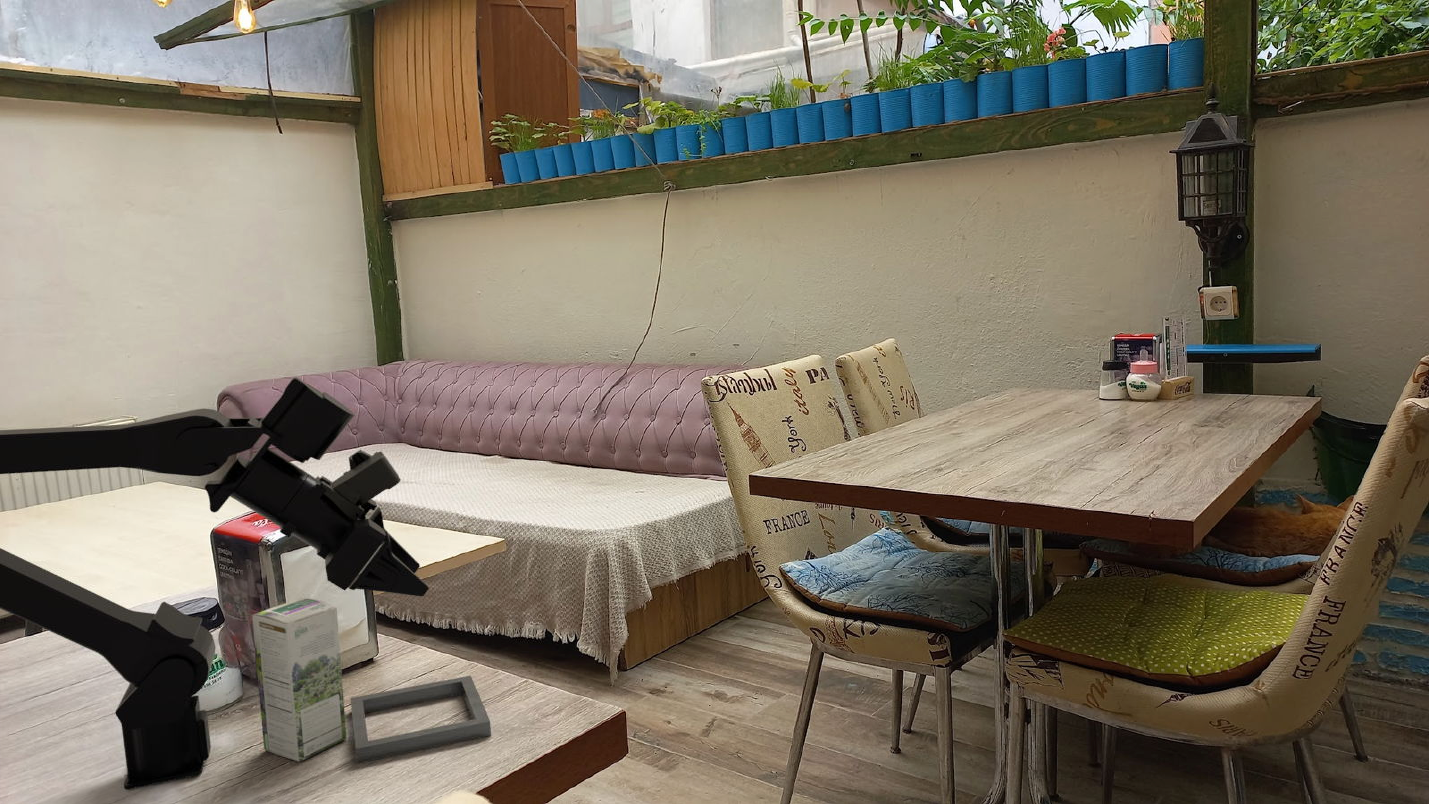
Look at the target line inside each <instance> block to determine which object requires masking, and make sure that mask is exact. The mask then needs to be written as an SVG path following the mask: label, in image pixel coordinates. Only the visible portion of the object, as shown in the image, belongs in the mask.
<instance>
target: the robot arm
mask: <svg viewBox="0 0 1429 804" xmlns="http://www.w3.org/2000/svg"><path fill="white" fill-rule="evenodd" d="M355 416H356V415H355V413H354V412H352V410H350V409H349V408H348V407H347V406H346V405H344V404H343V403H341V402H340V401H339V400H337V399H336V398H335V397H334V396H331V394H329V393H327V392H325V391H323V392H322V391H320V390H319V389H317V388H316V387H314V386H312V385H310V384H309V383H306V382H305V381H303V380H302V379H300V378H299V377H298V376H295V377H293V378H292V379H291V380H290V382H289V383H288V384H287V385H286V387H285V389H284V391H283V394H282V395H281V396H280V397H279V398H278V400H277V401H276V402H275V403H274V404H273V406H272V407H271V409H270V410H269V411H268V412H267V413H266V415H265V416H264V417H254V416H251V417H235V418H233V417H230V418H229V417H227V416H226V415H224V414H223V413H221V412H220V411H218V410H215V409H210V408H197V409H192V410H191V409H190V410H187V411H181V412H177V413H173V414H165V415H162V416H158V417H154V418H149V419H145V420H141V421H136V422H133V423H126V424H111V425H110V424H105V425H88V426H87V425H85V426H63V427H62V426H61V427H44V428H42V427H41V428H38V427H37V428H21V429H20V428H18V429H0V475H6V474H7V475H9V474H10V475H11V474H26V473H42V472H43V473H45V472H59V471H60V472H61V471H63V472H64V471H80V470H93V469H95V470H96V469H111V468H112V469H113V468H124V469H125V468H127V469H137V470H141V471H147V472H150V473H152V472H153V473H157V474H166V475H176V476H178V475H179V476H188V477H203V476H208V475H211V474H213V473H215V472H217V471H218V470H219V469H221V468H222V466H224V464H226V462H228V460H229V458H230V457H231V456H234V455H238V454H239V453H242V452H246V451H248V450H251V449H252V448H253V447H254V446H255V445H256V444H257V442H258V440H260V439H261V437H262V435H267V436H268V437H267V439H266V440H265V441H264V442H263V443H262V445H261V446H259V448H258V450H257V451H256V452H255V453H254V455H253V456H252V457H251V458H250V459H248V458H245V457H240V456H238V457H236V459H235V460H234V461H233V463H232V464H231V465H230V466H229V467H228V469H227V470H226V471H225V473H224V474H223V476H222V477H220V478H219V479H217V480H215V479H214V480H208V481H207V482H206V484H205V486H204V490H205V491H206V493H207V495H208V500H209V510H210V512H212V513H217V512H219V511H220V509H221V508H222V507H223V505H224V504H225V503H226V502H227V501H228V499H229V498H232V499H234V500H235V501H237V502H239V503H240V504H242V505H243V506H245V507H247V508H248V509H250V510H252V511H253V512H255V513H256V514H258V515H260V516H261V517H263V518H265V519H266V520H268V521H269V522H271V523H273V524H274V525H275V526H278V527H279V528H280V529H279V533H280V534H282V535H284V536H285V537H287V538H290V537H291V535H292V536H293V537H296V539H299V540H300V541H302V542H303V543H305V544H307V545H309V546H310V547H312V548H313V549H315V550H316V555H317V556H318V557H320V558H322V559H323V560H325V561H324V563H325V566H324V567H325V573H326V578H327V581H328V582H330V583H331V584H333V585H335V586H336V587H338V588H340V589H342V590H343V591H347V589H349V590H352V591H355V590H365V591H375V592H381V593H382V592H384V593H385V592H386V593H392V594H399V595H409V596H414V597H415V596H416V597H424V596H425V595H426V594H427V592H428V591H429V589H430V587H429V586H428V585H427V584H426V583H425V581H423V580H422V579H421V578H420V577H419V575H417V574H416V573H417V571H418V570H419V568H420V567H421V565H420V563H419V562H418V561H417V560H416V559H415V558H414V557H413V556H412V555H411V554H410V553H409V552H408V551H407V550H406V548H404V547H403V546H402V545H401V543H399V542H398V541H397V540H396V539H395V538H394V537H393V535H391V533H389V531H388V530H387V529H386V528H385V526H384V518H383V513H382V509H381V507H380V506H378V504H377V502H376V501H375V500H374V499H373V498H375V497H377V496H378V495H379V494H381V493H383V492H384V491H386V490H391V489H392V488H394V487H396V486H397V485H398V484H399V483H400V482H401V478H400V476H399V474H398V473H397V471H396V469H395V468H394V467H393V465H392V463H390V461H389V459H387V457H386V456H385V455H384V453H383V451H376V452H374V453H373V455H371V454H370V453H367V452H366V451H365V450H362V449H359V450H358V451H356V452H354V453H352V454H351V455H350V456H349V457H348V463H349V470H348V471H345V472H343V474H342V475H341V476H339V477H338V478H337V479H335V480H333V481H331V480H330V479H329V478H327V477H325V476H323V475H321V476H319V475H317V476H316V477H315V476H312V475H311V474H310V473H308V472H307V471H305V470H304V469H301V468H300V467H298V466H297V465H296V464H294V463H293V462H291V461H289V460H288V459H286V458H284V457H283V456H281V455H280V454H278V453H277V452H275V451H274V450H272V449H271V448H270V447H271V446H273V447H275V448H276V449H278V450H279V451H280V452H282V453H283V454H284V455H286V456H287V457H289V458H291V459H293V460H295V461H297V462H299V463H301V464H304V463H305V462H308V461H309V460H310V459H311V458H312V459H314V460H317V461H320V460H321V459H322V458H323V456H324V455H325V454H326V453H327V452H328V450H329V449H330V447H331V446H332V445H333V444H334V442H336V440H337V439H338V437H339V436H340V435H341V434H342V432H344V430H345V429H346V428H347V426H348V425H349V423H350V422H351V421H353V418H354V417H355ZM370 511H374V512H373V513H371V516H369V515H367V514H368V513H369V512H370ZM0 609H1V610H2V611H5V612H6V613H9V614H11V615H14V616H16V617H18V618H20V619H23V621H26V622H29V623H31V624H34V625H35V626H38V627H40V628H42V629H43V630H47V631H49V632H51V633H53V634H55V635H57V636H60V637H62V638H63V639H66V640H68V641H70V642H73V643H75V644H77V645H79V646H82V647H83V648H85V649H88V650H90V651H93V652H94V653H96V654H99V655H100V656H102V657H103V658H104V659H105V660H106V661H107V662H108V663H109V664H110V665H111V667H112V668H113V669H114V670H115V671H116V672H117V673H118V674H119V676H121V677H122V678H123V679H124V680H125V681H126V682H128V683H129V685H128V687H127V688H126V690H125V692H124V694H123V696H122V698H121V700H120V701H119V704H118V706H117V708H116V710H115V713H114V714H115V716H116V717H117V720H118V721H119V722H120V724H121V731H122V733H121V734H122V739H123V740H122V741H123V750H124V755H125V763H126V764H125V767H126V773H127V775H126V777H125V780H124V782H123V788H124V789H125V790H133V789H137V788H141V787H146V786H151V785H158V784H162V783H166V782H167V783H168V782H171V781H177V780H180V779H186V778H190V777H191V778H192V777H196V776H200V775H201V774H202V773H203V771H204V766H205V762H206V761H207V760H208V759H209V757H210V753H211V749H212V748H211V746H212V745H211V737H210V728H209V717H208V711H207V710H205V709H202V710H201V706H200V705H201V704H200V696H199V695H196V694H198V692H199V691H201V690H202V688H203V687H204V685H205V684H206V682H207V679H208V678H209V674H210V671H211V668H212V665H213V662H214V660H215V659H214V658H215V656H216V643H215V639H214V637H213V634H212V633H211V632H210V630H209V629H207V628H205V627H204V626H203V625H201V624H202V621H203V617H197V616H191V615H187V614H185V613H184V612H181V611H180V610H178V609H177V608H176V607H174V606H173V605H172V604H170V603H167V602H166V601H163V602H161V603H160V605H159V607H158V608H157V611H156V613H152V612H144V611H136V610H132V609H128V608H127V607H125V606H122V605H120V604H118V603H116V602H114V601H111V600H110V599H107V598H105V597H104V596H102V595H100V594H97V593H95V592H93V591H91V590H88V589H87V588H85V587H82V586H80V585H78V584H76V583H74V582H72V581H70V580H68V579H66V578H63V577H62V576H59V575H57V574H56V573H53V572H51V571H50V570H47V569H45V568H43V567H41V566H39V565H36V564H35V563H32V562H30V561H27V560H26V559H25V558H24V559H23V558H22V557H20V556H18V555H16V554H13V553H12V552H9V551H7V550H5V549H4V548H1V547H0Z"/></svg>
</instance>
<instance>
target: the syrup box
mask: <svg viewBox="0 0 1429 804" xmlns="http://www.w3.org/2000/svg"><path fill="white" fill-rule="evenodd" d="M337 608H338V607H335V605H332V604H330V603H328V602H325V601H323V600H319V599H315V598H309V597H307V598H306V597H300V598H298V599H295V600H292V601H289V602H286V603H282V604H279V605H277V606H274V607H270V608H267V609H266V610H265V609H264V610H262V611H260V612H257V613H254V614H252V616H251V617H252V629H253V640H254V649H255V650H254V651H255V663H256V671H257V672H256V673H257V684H258V695H259V705H260V707H259V708H260V717H261V728H262V730H261V731H262V741H263V743H262V744H263V749H264V750H265V751H266V752H270V753H272V754H274V755H277V756H280V757H284V758H285V759H289V760H292V761H295V762H298V763H300V762H303V761H304V760H307V759H308V758H311V757H312V756H314V755H317V754H318V753H321V752H322V751H325V750H326V749H329V748H331V747H333V746H334V745H336V744H339V743H340V742H342V741H344V740H346V739H347V727H346V725H347V724H346V712H345V700H344V698H345V697H344V689H343V675H342V660H341V647H340V631H339V621H338V620H339V619H338V609H337Z"/></svg>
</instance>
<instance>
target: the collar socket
mask: <svg viewBox="0 0 1429 804" xmlns="http://www.w3.org/2000/svg"><path fill="white" fill-rule="evenodd" d="M460 695H462V697H463V699H464V701H465V704H466V707H467V710H468V712H469V715H470V717H471V719H469V720H465V721H460V722H457V723H455V722H454V723H451V724H446V725H441V726H435V727H431V728H426V729H421V730H416V731H411V732H406V733H401V734H396V735H390V736H386V737H382V738H381V737H380V738H377V739H372V740H369V739H368V738H369V737H368V731H367V721H366V715H365V714H366V713H372V712H376V711H377V712H378V711H383V710H388V709H392V708H393V709H394V708H397V707H402V706H407V705H414V704H417V703H424V702H429V701H430V702H431V701H433V700H439V699H444V698H449V697H455V696H460ZM350 707H351V718H352V719H351V720H352V727H353V728H352V730H353V735H354V736H353V738H354V739H353V740H354V747H355V758H356V764H362V763H365V762H371V761H375V760H380V759H385V758H390V757H394V756H399V755H404V754H405V755H406V754H409V753H413V752H419V751H422V750H428V749H433V748H438V747H441V746H446V745H451V744H452V745H453V744H456V743H462V742H465V741H470V740H475V739H480V738H485V737H490V736H492V729H491V726H492V725H491V721H490V717H489V715H488V713H487V711H486V708H485V705H484V704H483V701H482V699H481V697H480V694H479V692H478V689H477V687H476V685H475V682H474V680H473V677H472V675H466V676H462V677H456V678H450V679H446V680H440V681H434V682H430V683H429V682H428V683H424V684H418V685H414V686H407V687H402V688H397V689H396V688H395V689H391V690H387V691H386V690H385V691H381V692H375V693H370V694H365V695H359V696H355V697H354V696H353V697H350Z"/></svg>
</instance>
